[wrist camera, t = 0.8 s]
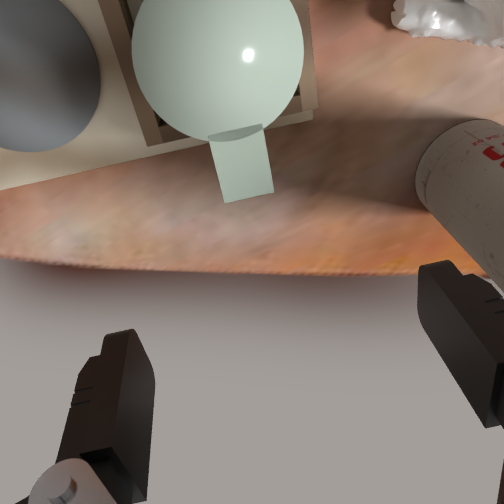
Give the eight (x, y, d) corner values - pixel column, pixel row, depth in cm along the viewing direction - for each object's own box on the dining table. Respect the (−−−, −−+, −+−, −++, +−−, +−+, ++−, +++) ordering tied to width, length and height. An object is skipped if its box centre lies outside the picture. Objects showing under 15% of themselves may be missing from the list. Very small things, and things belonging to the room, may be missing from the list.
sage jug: (132, -31, 25) (104, -20, 17) (257, -59, 25) (291, -63, 16) (182, 141, 30) (179, 213, 22) (283, 118, 30) (319, 182, 22)
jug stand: (-166, -44, 24) (-223, -43, 20) (280, -148, 24) (295, -164, 20) (-25, 190, 32) (-49, 218, 28) (310, 114, 31) (324, 134, 28)
